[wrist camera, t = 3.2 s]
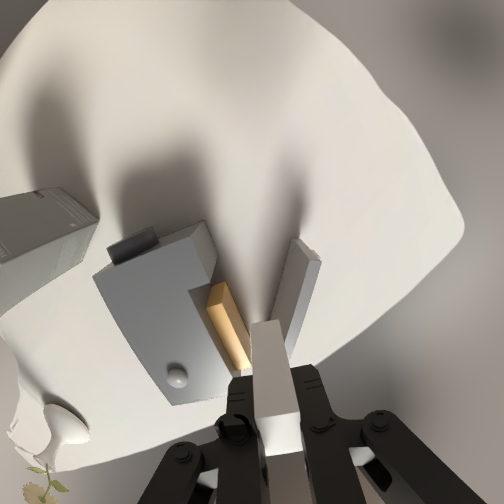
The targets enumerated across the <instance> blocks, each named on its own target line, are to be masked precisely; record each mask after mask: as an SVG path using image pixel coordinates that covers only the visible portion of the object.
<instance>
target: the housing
mask: <svg viewBox="0 0 504 504" xmlns="http://www.w3.org/2000/svg"><path fill="white" fill-rule="evenodd" d="M106 249H107V251H108V253H109V256H110V258H111V260H112V262H111V263H110V264H109V265H107V266H106V267H104V268H103V269H102V270H100V271H99V272H98V273H96V274H95V275H94V276H92V277H93V279H94V282H95V284H96V286H97V288H98V290H99V292H100V294H101V296H102V297H103V299H104V301H105V303H106V305H107V307H108V309H109V311H110V313H111V314H112V316H113V318H114V320H115V321H116V323H117V325H118V327H119V328H120V330H121V332H122V333H123V335H124V337H125V338H126V340H127V342H128V343H129V345H130V347H131V348H132V350H133V351H134V353H135V354H136V356H137V358H138V359H139V361H140V362H141V364H142V365H143V367H144V368H145V369H146V371H147V372H148V374H149V375H150V377H151V378H152V380H153V381H154V382H155V384H156V385H157V386H158V388H159V389H160V391H161V392H162V393H163V395H164V396H165V397H166V399H167V400H168V401H169V402H170V404H171V405H172V406H174V405H181V404H187V403H192V402H198V401H203V400H208V399H213V398H218V397H222V396H227V395H228V385H229V383H230V382H231V380H232V379H233V378H234V377H241V370H242V369H245V368H249V367H252V362H251V343H250V336H249V334H248V332H247V330H246V327H245V325H244V323H243V321H242V318H241V316H240V314H239V312H238V309H237V307H236V305H235V302H234V300H233V298H232V295H231V293H230V291H229V288H228V286H227V284H226V281H223V282H220V283H217V284H215V285H212V284H211V282H210V281H211V278H212V275H213V271H214V268H215V265H216V261H217V258H218V253H217V250H216V248H215V245H214V243H213V240H212V238H211V235H210V233H209V230H208V228H207V225H206V223H205V220H203V221H201V222H198V223H196V224H193V225H191V226H188V227H186V228H183V229H181V230H178V231H176V232H173V233H171V234H168V235H166V236H163V237H161V238H159V239H158V237H157V235H156V232H155V230H154V227H153V226H152V227H149V228H147V229H144V230H142V231H140V232H137V233H135V234H133V235H131V236H129V237H127V238H125V239H123V240H121V241H119V242H117V243H115V244H113V245H111V246H109V247H108V248H106Z"/></svg>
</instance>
